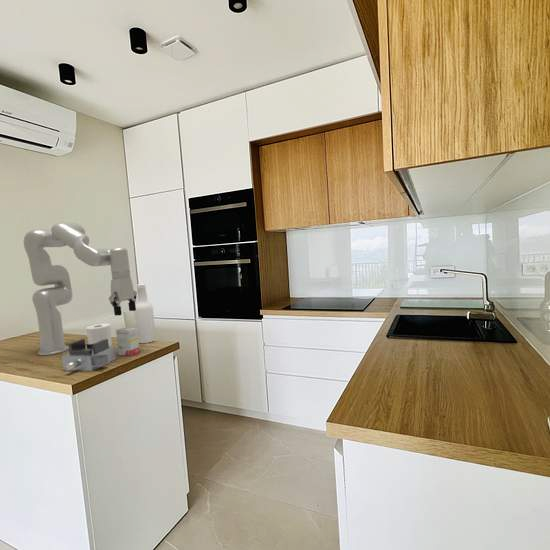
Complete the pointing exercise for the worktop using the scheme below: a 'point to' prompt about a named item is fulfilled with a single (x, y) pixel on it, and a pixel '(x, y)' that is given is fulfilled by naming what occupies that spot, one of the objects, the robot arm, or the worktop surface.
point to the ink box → (127, 341)
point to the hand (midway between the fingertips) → (125, 312)
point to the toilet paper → (99, 333)
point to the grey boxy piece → (88, 355)
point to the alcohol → (144, 317)
